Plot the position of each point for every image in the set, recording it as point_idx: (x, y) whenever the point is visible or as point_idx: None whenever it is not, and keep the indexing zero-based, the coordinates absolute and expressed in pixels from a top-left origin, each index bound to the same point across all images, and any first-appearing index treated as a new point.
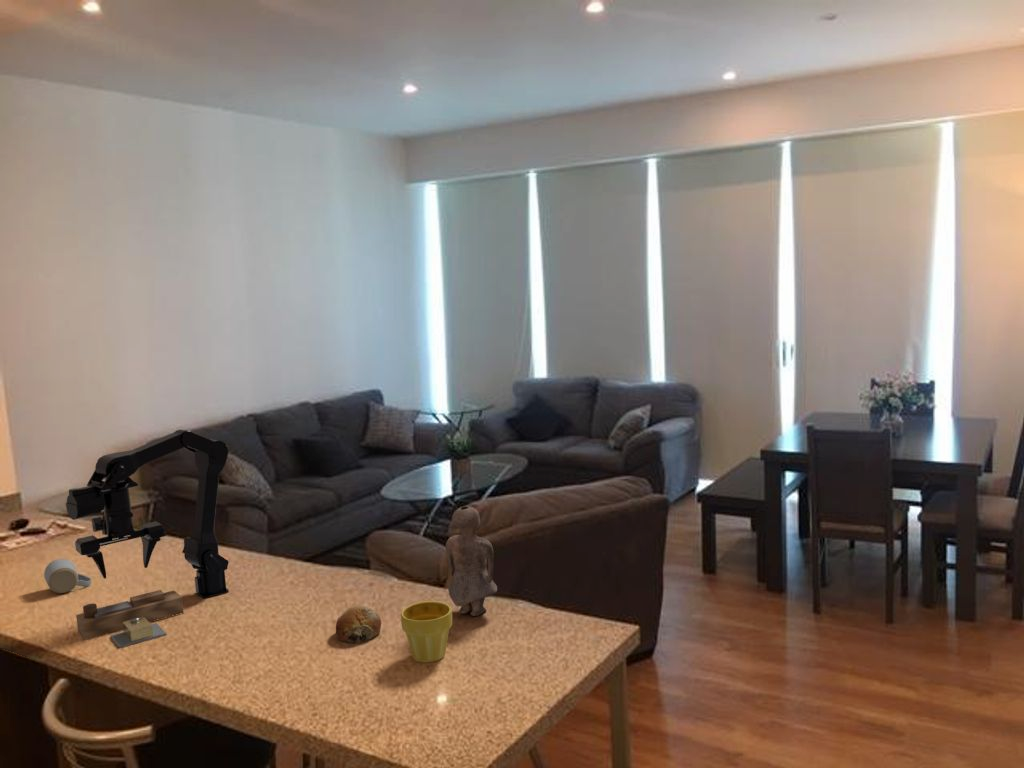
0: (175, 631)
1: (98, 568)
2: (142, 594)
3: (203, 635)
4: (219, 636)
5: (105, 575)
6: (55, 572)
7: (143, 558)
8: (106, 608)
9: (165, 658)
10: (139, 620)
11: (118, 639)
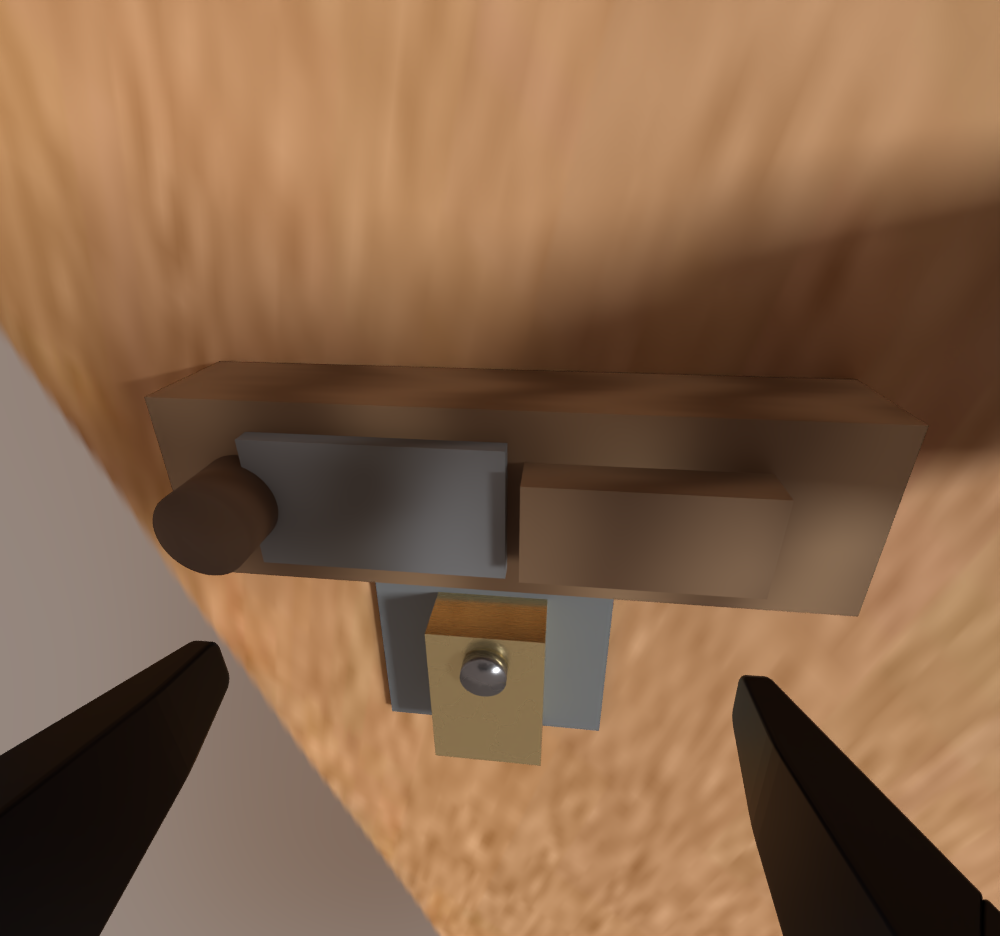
0: (646, 716)
1: (39, 744)
2: (626, 494)
3: (712, 817)
4: (750, 859)
5: (202, 728)
6: None
7: (797, 806)
8: (340, 493)
9: (516, 866)
10: (507, 677)
11: (401, 648)
